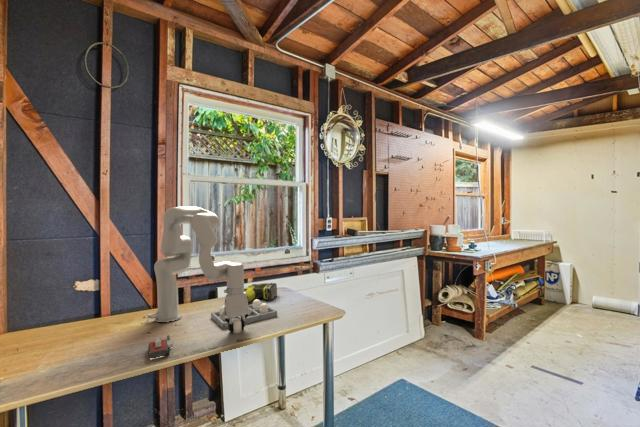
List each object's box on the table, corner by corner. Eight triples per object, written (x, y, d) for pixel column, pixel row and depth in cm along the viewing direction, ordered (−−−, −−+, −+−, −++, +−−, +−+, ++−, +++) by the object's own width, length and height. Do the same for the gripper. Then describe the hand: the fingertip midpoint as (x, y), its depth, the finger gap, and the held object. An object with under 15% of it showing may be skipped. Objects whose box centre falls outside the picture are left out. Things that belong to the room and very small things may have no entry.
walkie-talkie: (175, 356, 120) (170, 338, 137) (174, 345, 120) (170, 328, 137) (149, 362, 115) (147, 343, 133) (148, 351, 115) (147, 332, 133)
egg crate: (223, 329, 146) (222, 315, 146) (211, 317, 161) (210, 305, 161) (277, 316, 162) (276, 303, 162) (261, 307, 178) (261, 295, 177)
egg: (233, 334, 140) (233, 321, 140) (230, 331, 143) (229, 318, 143) (243, 331, 142) (242, 319, 142) (239, 328, 146) (239, 316, 146)
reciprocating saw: (255, 312, 167) (221, 312, 171) (282, 294, 209) (254, 294, 213) (255, 294, 167) (221, 294, 171) (281, 280, 209) (253, 280, 213)
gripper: (219, 295, 135) (220, 337, 135) (256, 289, 144) (257, 328, 145) (214, 292, 141) (215, 332, 141) (249, 286, 150) (250, 323, 151)
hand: (236, 330), depth 143 cm, fingers closed on egg, 4 cm apart
